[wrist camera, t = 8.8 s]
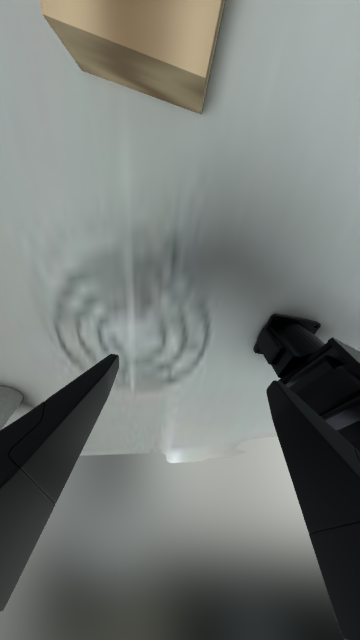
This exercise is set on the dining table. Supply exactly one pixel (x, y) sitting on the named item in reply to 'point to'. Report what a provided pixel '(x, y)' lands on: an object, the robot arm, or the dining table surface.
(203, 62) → the block
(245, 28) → the dining table surface
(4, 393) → the house plant
